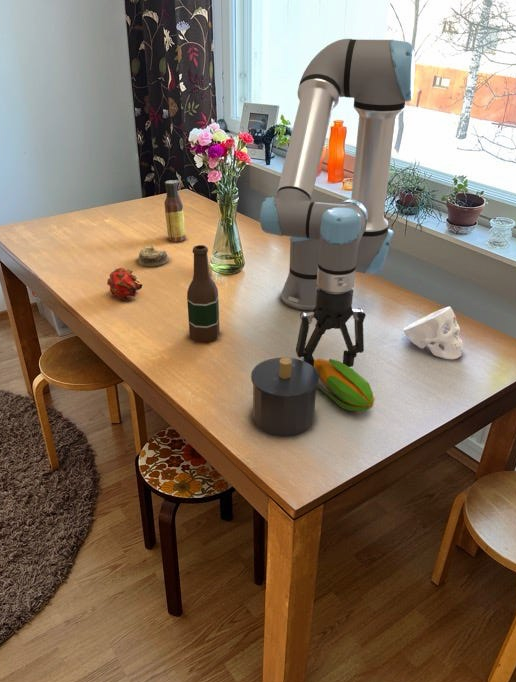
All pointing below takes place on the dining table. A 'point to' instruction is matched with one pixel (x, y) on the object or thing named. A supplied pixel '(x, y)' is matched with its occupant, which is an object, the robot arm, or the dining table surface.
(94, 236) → the dining table surface
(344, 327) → the robot arm
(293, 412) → the pot
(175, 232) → the sauce bottle
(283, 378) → the pot lid
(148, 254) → the grey rough lump
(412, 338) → the skull bowl
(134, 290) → the dragon fruit
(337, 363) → the corn
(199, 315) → the beer bottle
